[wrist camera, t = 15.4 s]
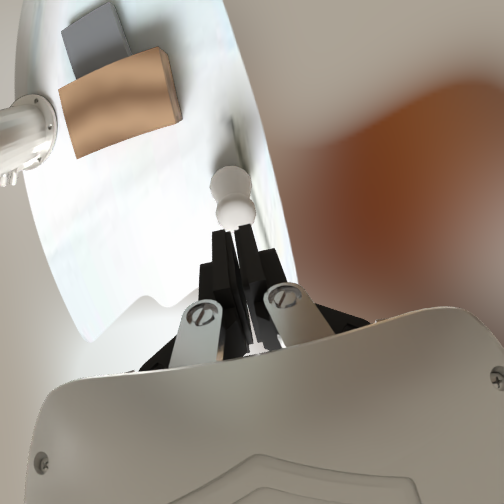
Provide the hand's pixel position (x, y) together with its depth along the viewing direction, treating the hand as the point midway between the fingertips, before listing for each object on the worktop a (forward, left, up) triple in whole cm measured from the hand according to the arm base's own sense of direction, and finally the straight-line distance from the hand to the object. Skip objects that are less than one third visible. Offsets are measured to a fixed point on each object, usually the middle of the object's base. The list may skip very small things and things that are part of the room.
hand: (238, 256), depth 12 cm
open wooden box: (-1, +15, -29) cm, 33 cm away
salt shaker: (-4, -4, -29) cm, 30 cm away
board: (+3, +22, -30) cm, 37 cm away
